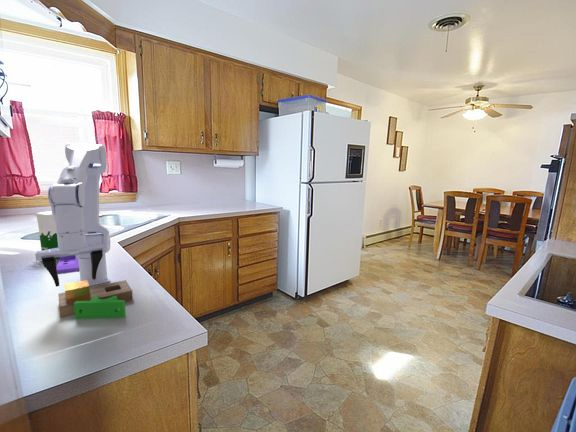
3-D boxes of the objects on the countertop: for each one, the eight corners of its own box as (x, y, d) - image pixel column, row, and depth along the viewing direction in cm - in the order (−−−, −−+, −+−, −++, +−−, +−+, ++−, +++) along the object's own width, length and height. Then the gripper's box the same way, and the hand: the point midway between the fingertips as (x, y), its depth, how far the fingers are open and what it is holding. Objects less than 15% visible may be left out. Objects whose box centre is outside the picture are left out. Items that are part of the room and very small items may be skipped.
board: (59, 304, 77) (58, 293, 76) (126, 289, 87) (125, 280, 86) (60, 318, 70) (58, 306, 69) (132, 300, 80) (132, 290, 79)
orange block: (66, 304, 76) (64, 284, 75) (89, 299, 79) (87, 279, 78) (67, 312, 72) (65, 290, 71) (91, 306, 75) (89, 286, 74)
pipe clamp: (130, 311, 74) (129, 295, 74) (123, 319, 71) (122, 302, 70) (84, 312, 73) (82, 295, 72) (75, 320, 70) (73, 302, 69)
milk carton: (76, 254, 118) (71, 206, 114) (50, 260, 109) (44, 209, 106) (63, 251, 121) (58, 205, 118) (38, 257, 113) (31, 207, 110)
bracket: (61, 264, 107) (59, 246, 106) (83, 261, 111) (82, 244, 110) (56, 274, 97) (53, 255, 96) (80, 271, 101) (78, 252, 100)
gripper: (32, 238, 65) (39, 294, 67) (106, 230, 74) (110, 280, 76) (33, 232, 70) (40, 284, 72) (103, 225, 79) (107, 272, 81)
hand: (76, 281), depth 75 cm, fingers open, 7 cm apart
